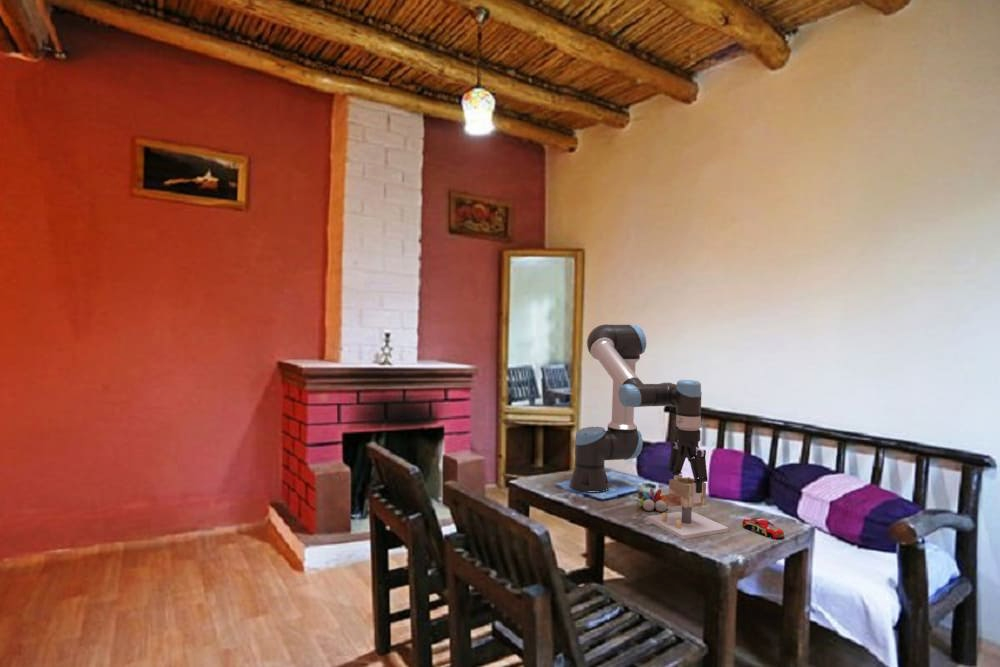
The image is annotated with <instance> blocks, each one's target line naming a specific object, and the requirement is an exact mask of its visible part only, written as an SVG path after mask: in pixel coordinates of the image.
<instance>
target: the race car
mask: <svg viewBox="0 0 1000 667" xmlns="http://www.w3.org/2000/svg"><path fill="white" fill-rule="evenodd" d="M741 525H742V527H743V528H744V529H745V530H748V531H752V532H754V533H757V534H760V535H761V536H762V535H763V536H765V537H767V538H768V537H771V538H773V539H776V538H778V539H783V538H784V537H785V532H784V531H783V530H782V529H781V528H779V527H777V526H775V524H774V523H772V522H770V521H769V520H767V519H764V518H761V517H745V518H743V519H742V523H741ZM771 538H770V539H771Z"/></svg>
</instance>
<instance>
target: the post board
mask: <svg viewBox="0 0 1000 667" xmlns="http://www.w3.org/2000/svg"><path fill="white" fill-rule="evenodd" d="M692 508H693V507H688V508H685V507H683V506H681V511H675V512H674V511H673V512H669V513H667V512H666V511H663V512H661V513H660V514H654V515H647V516H646V517H645V518H646V521H647V522H649V523H651V524H653V525H655V526H657V527H659V528H660V529H662V530H664V531H666V532H668V533H670V534H672V535H674V536H676V537H678V538H679V539H681V540H688V539H693V538H699V537H706V536H711V535H717V534H722V533H729V532H730V528H729V527H728V526H725V525H724V524H721V523H719V522H716V521H714V520H712V519H710V518H709V517H705V516H704V515H701V514H699V513H697V512H694V511H692Z"/></svg>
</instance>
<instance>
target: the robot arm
mask: <svg viewBox="0 0 1000 667" xmlns="http://www.w3.org/2000/svg"><path fill="white" fill-rule="evenodd" d="M646 338H647V337H646V334H645V332H644V330H643V329H642V327H640V326H638V325H635V324H607V323H606V324H601V325H597V326H596V327H594V328H593V329H592V330H591V332H589V335H588V337H587V340H586V347H587V350H588V352H589V354H590V355H591V357H592V358H593V359H595V360H598V362H599V363H600V364H601V366H602V367H603V368H604V370H605V371H606V372H607V374H608V375H609V377H610V378H611V379H612V399H611V403H612V404H611V421H610V422H609V423H608V424H607V430H606V429H605V427H602V426H588V427H583V428H580V429H579V430H577V431H576V433H575V439H574V468H573V472H572V474H571V478H570V480H569V483H570V484H569V486H570V488H571V489H573V491H577V490H579V491H578V492H582V491H603V490H606V489H608V488H609V489H610V486H609V484H610V482H609V479H608V476H607V473H606V470H605V462H606V461H615V460H616V461H619V460H624V461H627V460H633V459H636V458H638V457H639V455H641V453H642V449H643V444H644V443H643V442H644V441H643V437H642V436H643V435H642V433H641V432H640V430H639V429H638V425H636V424H635V422H634V417H635V408H642V407H643V408H644V407H674V408H675V411H676V412H675V413H676V419H675V420H676V421H675V422H676V423H675V425H676V427H677V428H675V440H677V442H676V441H675V442H673V441H672V442H671V443H670V447H671V450H670V457H669V465H668V471H669V472H671V473H672V476H673V478H672V479H677V478H683V472H682V470H683V466H684V464H685V461H686V459H687V461H688V462H689V465H690V467H691V468H690V469H691V472H692V476H693V479H694V480H695V481H694V482H693V502H692V503H701V493H702V483H703V482H704V483H707V482H708V471H707V461H706V454H707V451H706V450H705V449H701V448H700V447H699V442H700V441H701V434H702V433H701V430H700V429H701V425H702V424H701V423H702V422H701V421H702V415H701V413H702V395H703V394H702V383H701V382H700V381H699V380H692V379H680V380H678V381H677V382H676V383H672V382H662V383H643V382H642V381H641V379H640V378H639V377H638V376H637V374H636V363H637V362H638V361H639V360H640V355H643V354H644V353H645V352H646V349H647V339H646ZM609 489H608V490H609ZM606 491H607V490H606ZM603 492H604V491H603Z"/></svg>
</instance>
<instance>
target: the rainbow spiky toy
mask: <svg viewBox="0 0 1000 667" xmlns="http://www.w3.org/2000/svg"><path fill="white" fill-rule="evenodd" d="M649 491H650V494H649V493H648V492H646V491H643V492H642V495H643V496H642V498H641V499H640V500H639V503H640V504H641V505H642V507H643V509H644V510H645V511H648V512H652V511H653V510H654V509H655V510H656V511H657V512H660V513H663V512H666V510H667V508H669V505H667V504H665V496H666V494H662V489H660V488H659V489H658V490H656V492H654V488H653V487H651V488H650V490H649ZM661 494H662V495H661Z"/></svg>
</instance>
